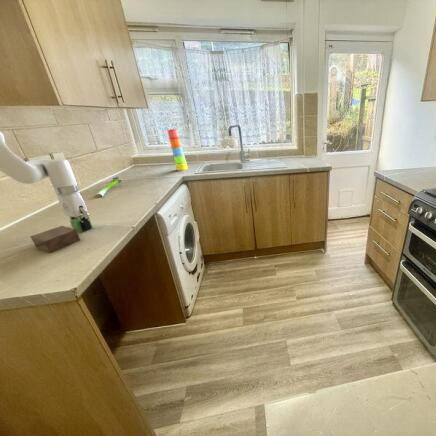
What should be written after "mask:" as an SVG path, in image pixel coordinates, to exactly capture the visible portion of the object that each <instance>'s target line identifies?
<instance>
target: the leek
mask: <svg viewBox="0 0 436 436" xmlns="http://www.w3.org/2000/svg"><path fill="white" fill-rule="evenodd" d="M121 183H122V180H121V179H120V176H115V177H112V181H110V183H109V184H107V185H106V186H105V187H103V188H102V189H101V190H99V191H98V192H97V193H96V194H95V197H98V195H99V196H101V198H103V197H104V196H105V194H106V193H107V192H108V191H109V190H110V189H111V188H113V187H114V186H116V185H117V184H118V185H121Z"/></svg>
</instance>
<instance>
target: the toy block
mask: <svg viewBox="0 0 436 436" xmlns="http://www.w3.org/2000/svg"><path fill="white" fill-rule="evenodd" d="M82 217H84V216H82ZM82 217H81V218H82ZM88 219H89V222H90V225H91V227H92V228H93V225H92V222H91V220H90V217H89V218H88ZM69 223H70V225H71V228H72V229H76V231H77V233H82V232H84V231H83V229H82V227H81V225H80V223H81V222H80V220H79V218H75V219H72V220H70V219H69Z"/></svg>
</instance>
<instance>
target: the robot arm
mask: <svg viewBox="0 0 436 436" xmlns="http://www.w3.org/2000/svg"><path fill="white" fill-rule="evenodd" d="M0 172H2V173H3V174H4V175H6V176H8V177H9V178H11V179H12V180H14V181H17V182H19V183H22V184H25V185H26V184H28V185H29V184H30V185H33V184H35V183H38V182H40V181H41V180H43V179H46V178H49V181H50V183H51V185H52V187H53V190H54V192H55V195H56V196H57V199H58V203H59V205H60V206H59V207H60V209H61V210H62V213H63V215H65V216H67V217H69V221H70V220H72V219H75V218H79V220H80V222H81V223H80V225H81V227H82V229H83V231H82V232H86V231H89V230H92V228H93V226H92V227H91V225H90V222H91V221H90V222H89V219H90V214H89V212H88V211H89V210H88V208H87V205H86V204H85V203H86V202H85V201H84V199H83V197H82V195H81V193H80V192H81V190H80V187H79V184H78V182H77V180H76V177H75V174H74V172H73V169H72V167H71V163H70V162H69V160H67V159H65V158H54V159H30V160H27V161H25V160H23V159H22V158H20V157H19V156H18V155H16V154H15V153H14V152H13V151H11V150H10V148H9V147H8V145H7V144H6V140H5V135H4V133H2V132H1V131H0ZM82 216H83V217H82ZM81 217H82V218H81ZM88 218H89V219H88Z"/></svg>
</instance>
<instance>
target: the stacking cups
mask: <svg viewBox="0 0 436 436" xmlns="http://www.w3.org/2000/svg"><path fill="white" fill-rule="evenodd" d="M167 135H168V140H169V143H170V148H171V151H172V156H173V159H174V165H175V168H176V171H185V170H188V164H187V161H186V157H185V153H184V150H183V145H182V143H181V141H180V137H179V134H178V131H177V129H176V128H175V129H174V128H173V129H172V128H171V129H167Z"/></svg>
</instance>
